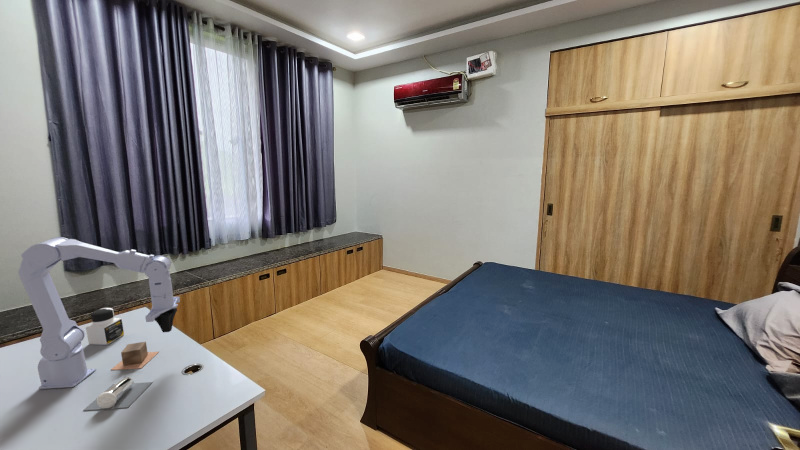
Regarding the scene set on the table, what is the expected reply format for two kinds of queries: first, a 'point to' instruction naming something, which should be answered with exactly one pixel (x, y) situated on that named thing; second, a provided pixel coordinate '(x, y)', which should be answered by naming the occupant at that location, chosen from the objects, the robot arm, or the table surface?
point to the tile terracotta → (135, 366)
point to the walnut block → (134, 353)
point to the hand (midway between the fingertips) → (167, 331)
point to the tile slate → (123, 397)
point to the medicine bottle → (104, 327)
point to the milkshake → (114, 393)
